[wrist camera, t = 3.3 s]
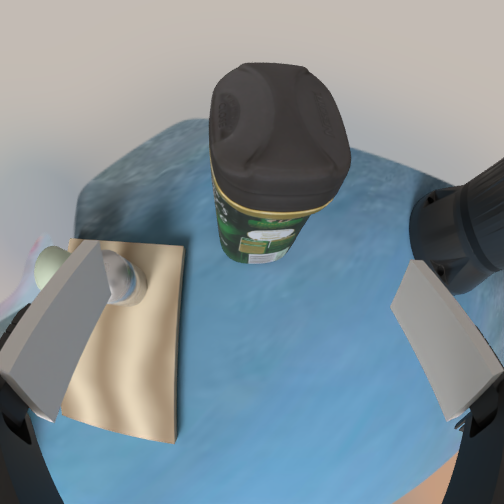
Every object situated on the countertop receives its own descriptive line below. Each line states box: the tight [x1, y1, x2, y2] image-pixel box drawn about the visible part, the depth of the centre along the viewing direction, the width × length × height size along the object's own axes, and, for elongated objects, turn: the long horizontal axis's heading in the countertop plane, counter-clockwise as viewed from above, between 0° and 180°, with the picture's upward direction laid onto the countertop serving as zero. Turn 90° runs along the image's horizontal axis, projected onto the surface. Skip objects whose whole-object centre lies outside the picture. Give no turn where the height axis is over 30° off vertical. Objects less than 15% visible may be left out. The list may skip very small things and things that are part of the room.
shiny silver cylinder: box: [101, 250, 148, 307], centre depth 23 cm, size 4×4×6 cm
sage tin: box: [34, 246, 72, 290], centre depth 22 cm, size 4×4×6 cm
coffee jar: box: [209, 63, 351, 264], centre depth 21 cm, size 10×8×19 cm
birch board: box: [61, 238, 186, 444], centre depth 25 cm, size 14×21×2 cm, turn 177°
